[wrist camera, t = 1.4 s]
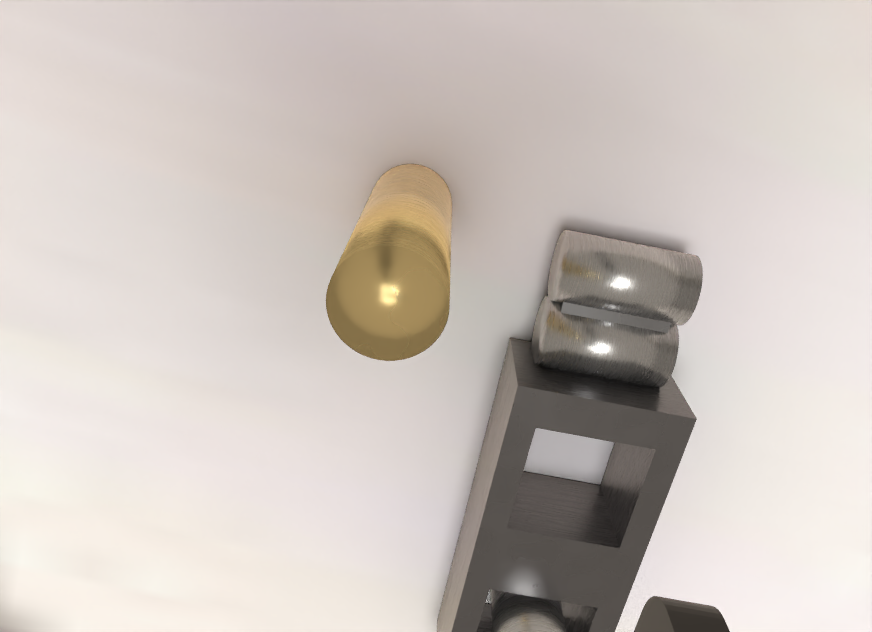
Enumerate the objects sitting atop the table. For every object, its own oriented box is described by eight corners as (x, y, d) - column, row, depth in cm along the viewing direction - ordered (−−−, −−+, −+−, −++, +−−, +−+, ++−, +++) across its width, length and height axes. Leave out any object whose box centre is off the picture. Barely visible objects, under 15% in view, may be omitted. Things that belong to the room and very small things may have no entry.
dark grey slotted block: (541, 216, 27) (563, 270, 21) (708, 250, 27) (771, 310, 22) (418, 694, 37) (411, 816, 31) (542, 715, 37) (557, 839, 31)
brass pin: (377, 156, 26) (335, 234, 17) (459, 172, 26) (460, 259, 17) (364, 235, 27) (318, 348, 18) (443, 250, 28) (436, 370, 18)
